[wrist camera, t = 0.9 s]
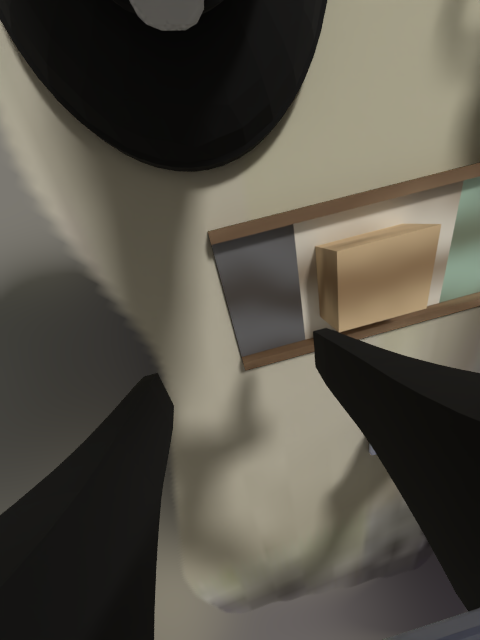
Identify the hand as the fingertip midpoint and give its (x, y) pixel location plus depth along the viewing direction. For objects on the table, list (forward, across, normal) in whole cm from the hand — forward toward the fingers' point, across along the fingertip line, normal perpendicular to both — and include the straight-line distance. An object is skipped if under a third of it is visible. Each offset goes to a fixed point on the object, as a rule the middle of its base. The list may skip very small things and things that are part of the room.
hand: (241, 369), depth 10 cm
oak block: (+8, -11, 0) cm, 14 cm away
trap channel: (+8, -17, 0) cm, 19 cm away
